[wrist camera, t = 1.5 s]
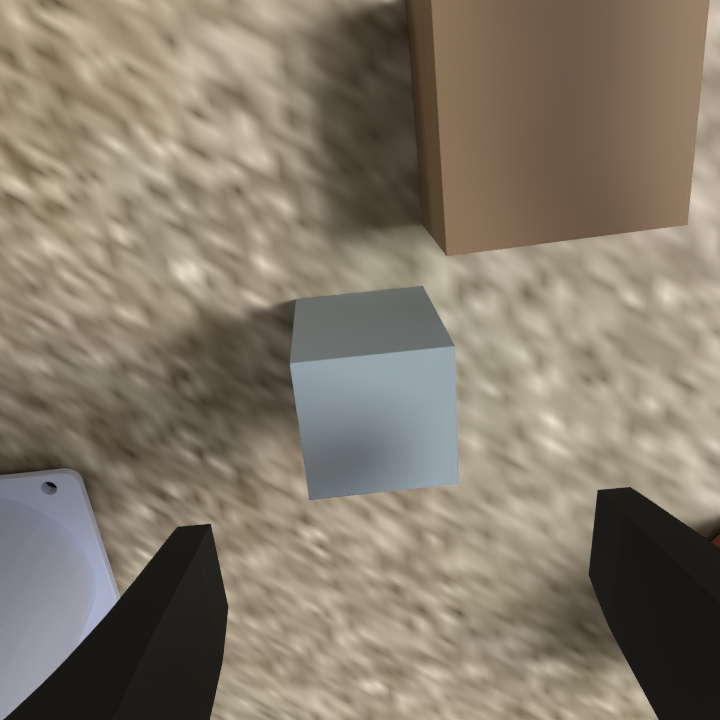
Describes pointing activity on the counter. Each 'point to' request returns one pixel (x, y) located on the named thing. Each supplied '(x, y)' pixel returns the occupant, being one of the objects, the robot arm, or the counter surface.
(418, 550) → the counter surface
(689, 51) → the walnut base
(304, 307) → the blue block
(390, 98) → the counter surface
